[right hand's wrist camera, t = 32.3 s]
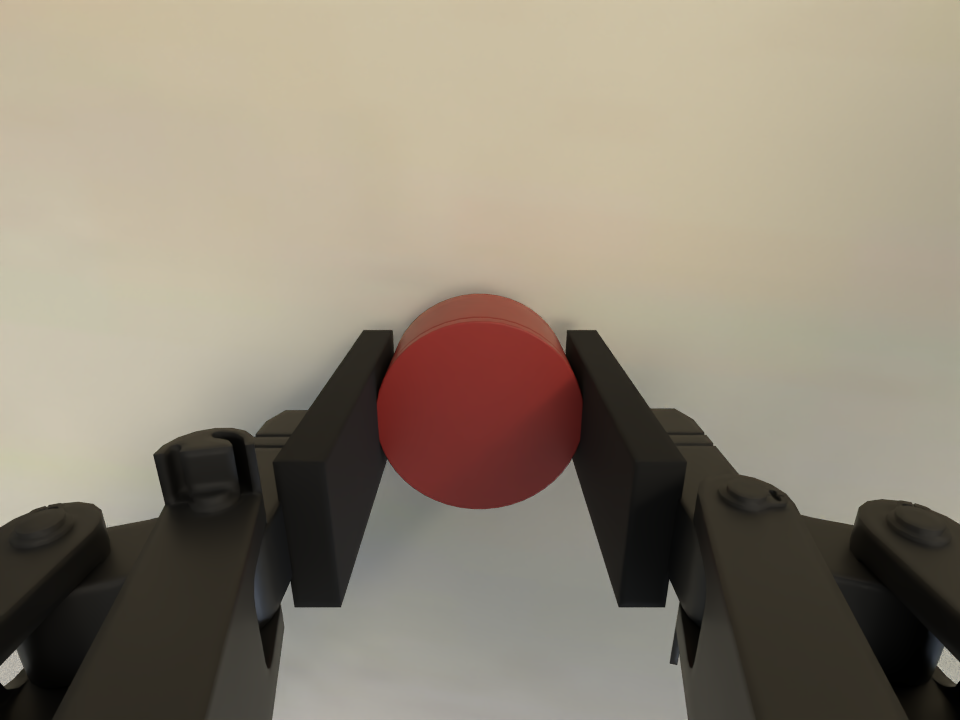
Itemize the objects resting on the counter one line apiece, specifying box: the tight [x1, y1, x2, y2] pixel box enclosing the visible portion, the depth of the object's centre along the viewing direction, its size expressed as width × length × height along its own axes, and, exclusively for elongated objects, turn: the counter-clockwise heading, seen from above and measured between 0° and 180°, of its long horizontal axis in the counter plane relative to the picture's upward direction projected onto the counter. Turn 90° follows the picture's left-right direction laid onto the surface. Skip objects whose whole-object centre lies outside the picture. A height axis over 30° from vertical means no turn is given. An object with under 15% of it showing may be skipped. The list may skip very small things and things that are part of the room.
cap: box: [377, 294, 583, 509], centre depth 13 cm, size 5×5×2 cm
